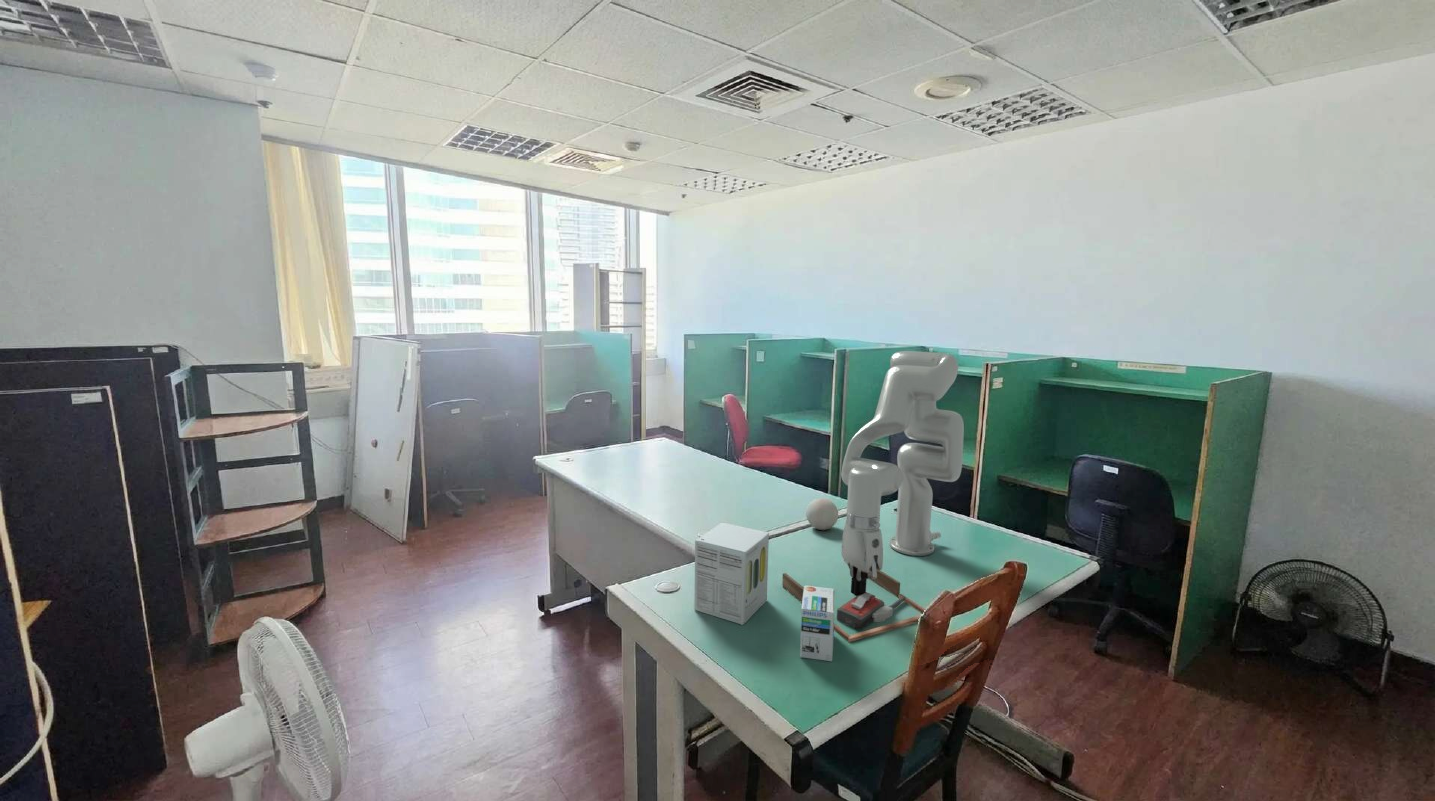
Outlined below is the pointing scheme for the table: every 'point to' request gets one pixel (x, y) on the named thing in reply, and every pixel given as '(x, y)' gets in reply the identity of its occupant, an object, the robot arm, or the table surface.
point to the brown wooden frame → (881, 580)
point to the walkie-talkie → (865, 610)
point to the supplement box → (731, 572)
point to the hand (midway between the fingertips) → (858, 593)
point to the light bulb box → (817, 623)
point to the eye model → (822, 513)
